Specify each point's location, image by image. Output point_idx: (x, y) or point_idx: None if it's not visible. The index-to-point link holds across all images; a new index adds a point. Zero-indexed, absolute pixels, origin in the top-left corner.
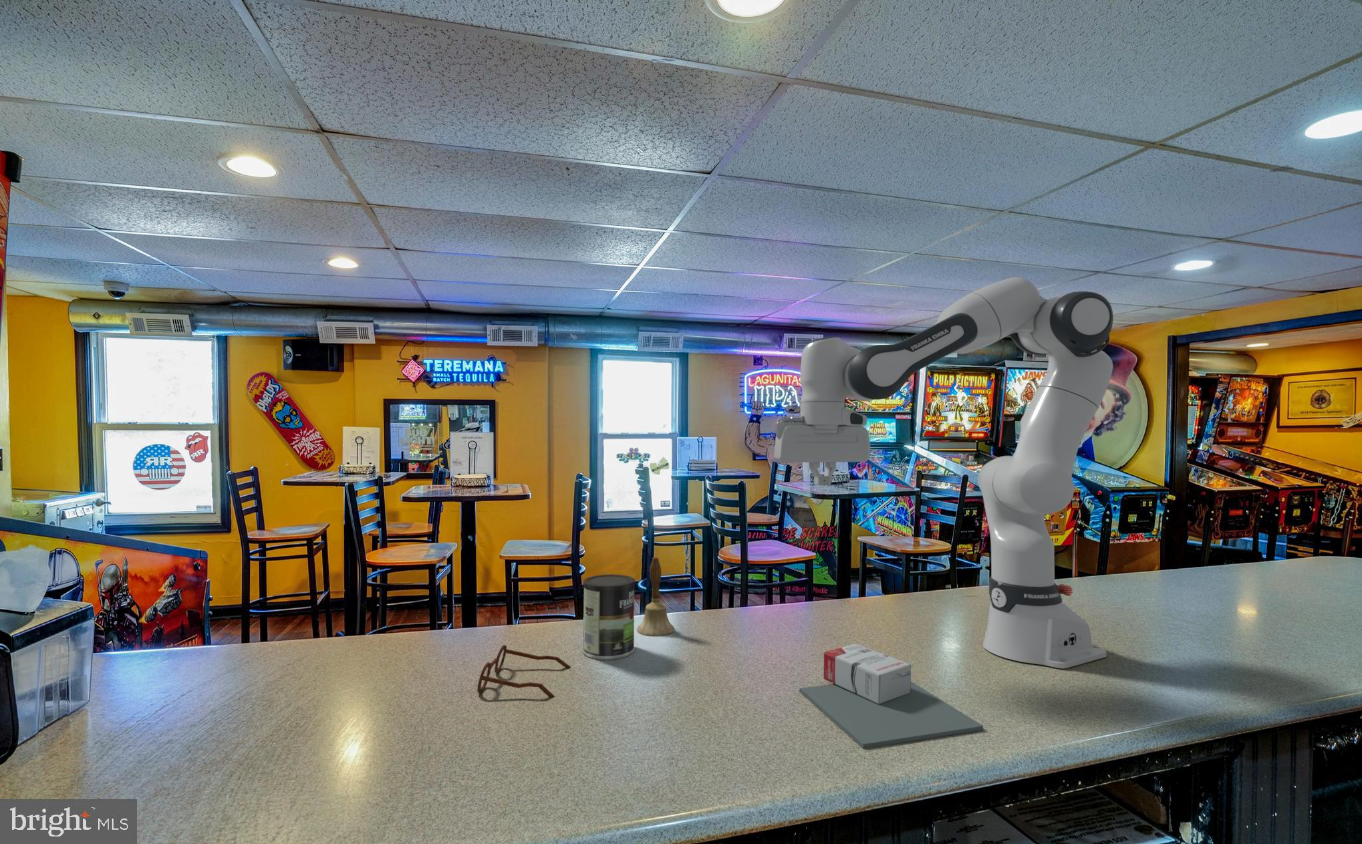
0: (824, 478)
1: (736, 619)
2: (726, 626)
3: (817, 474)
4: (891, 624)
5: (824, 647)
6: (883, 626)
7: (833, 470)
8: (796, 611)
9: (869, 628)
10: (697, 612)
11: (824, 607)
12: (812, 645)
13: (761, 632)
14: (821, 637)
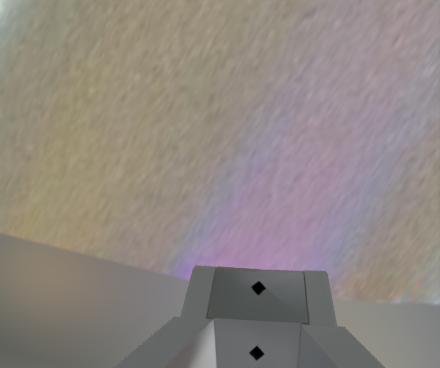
0: (259, 304)
1: (352, 244)
2: (394, 214)
3: (353, 341)
4: (58, 141)
5: (261, 48)
6: (79, 134)
7: (137, 361)
8: (211, 254)
9: (113, 131)
10: (405, 297)
11: (146, 260)
12: (280, 66)
13: (343, 165)
14: (237, 107)
